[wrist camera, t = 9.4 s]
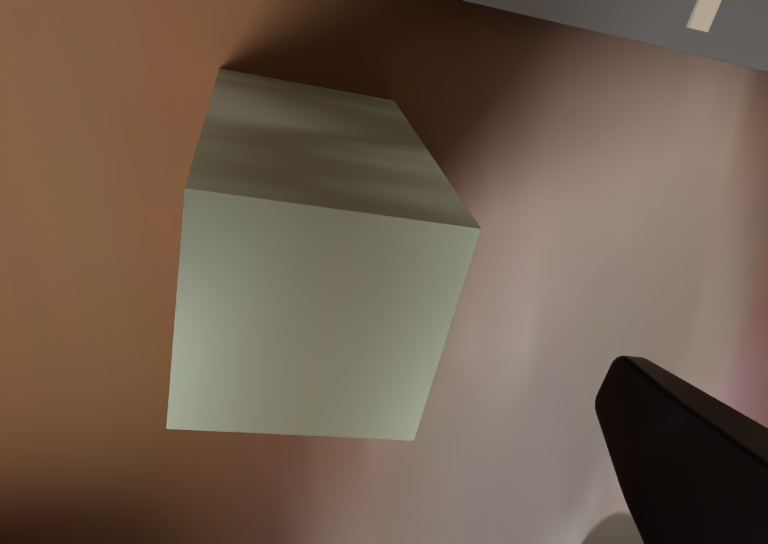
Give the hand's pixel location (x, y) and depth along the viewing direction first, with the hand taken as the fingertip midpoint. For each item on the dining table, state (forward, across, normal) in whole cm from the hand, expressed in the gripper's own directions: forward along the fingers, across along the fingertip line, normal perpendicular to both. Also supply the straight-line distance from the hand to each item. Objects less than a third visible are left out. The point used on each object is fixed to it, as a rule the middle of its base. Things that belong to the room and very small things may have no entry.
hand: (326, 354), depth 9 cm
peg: (+8, 0, 0) cm, 8 cm away
